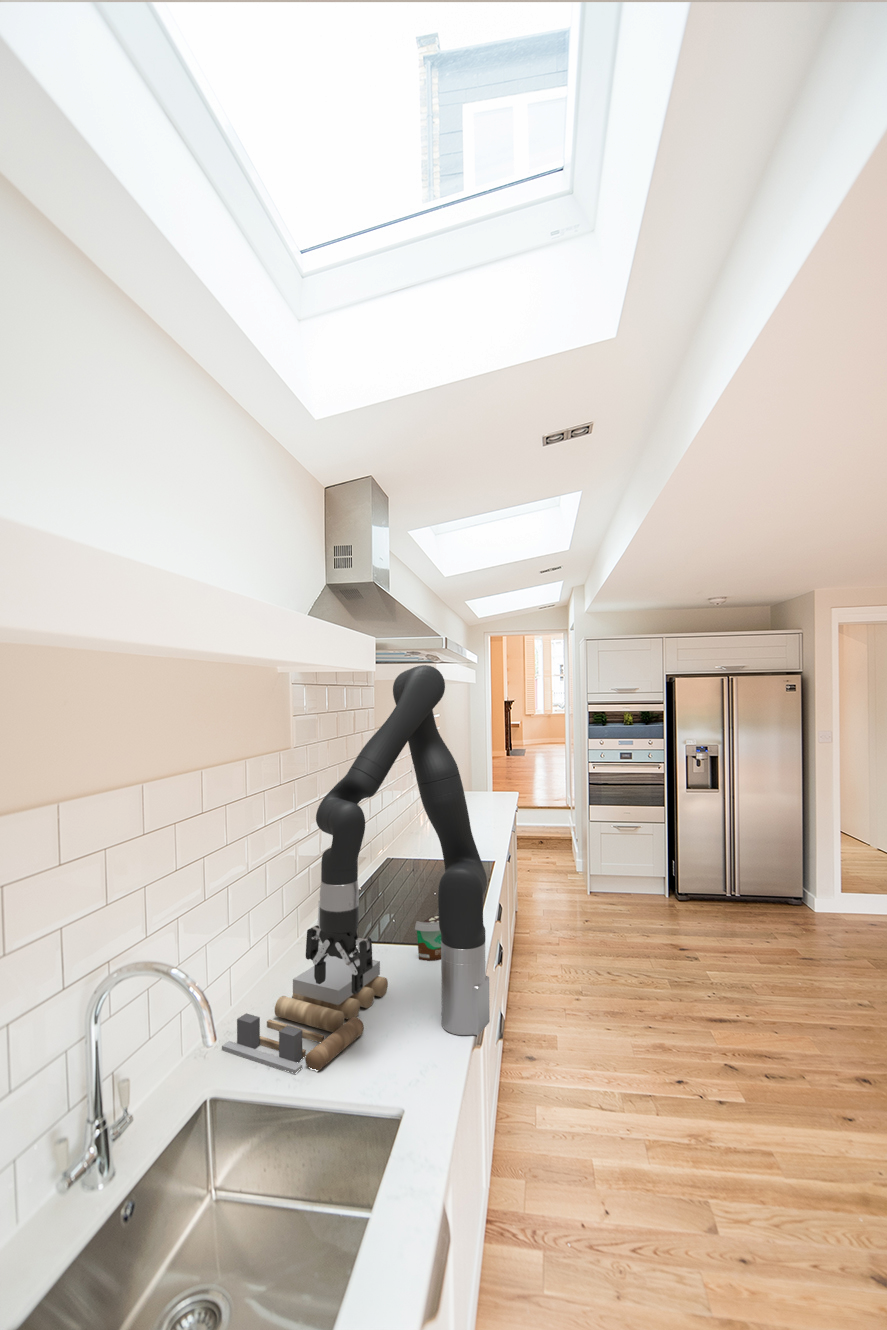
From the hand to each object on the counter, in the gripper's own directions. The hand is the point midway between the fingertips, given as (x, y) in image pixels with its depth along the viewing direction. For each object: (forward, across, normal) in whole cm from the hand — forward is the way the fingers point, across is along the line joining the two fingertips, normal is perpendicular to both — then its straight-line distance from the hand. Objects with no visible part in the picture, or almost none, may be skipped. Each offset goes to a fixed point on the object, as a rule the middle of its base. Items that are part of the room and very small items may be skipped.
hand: (338, 987), depth 129 cm
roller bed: (+12, +12, -10) cm, 19 cm away
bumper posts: (+12, +11, +7) cm, 18 cm away
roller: (+12, -1, 0) cm, 12 cm away
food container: (+12, +3, -48) cm, 49 cm away
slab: (+8, +12, -16) cm, 21 cm away
